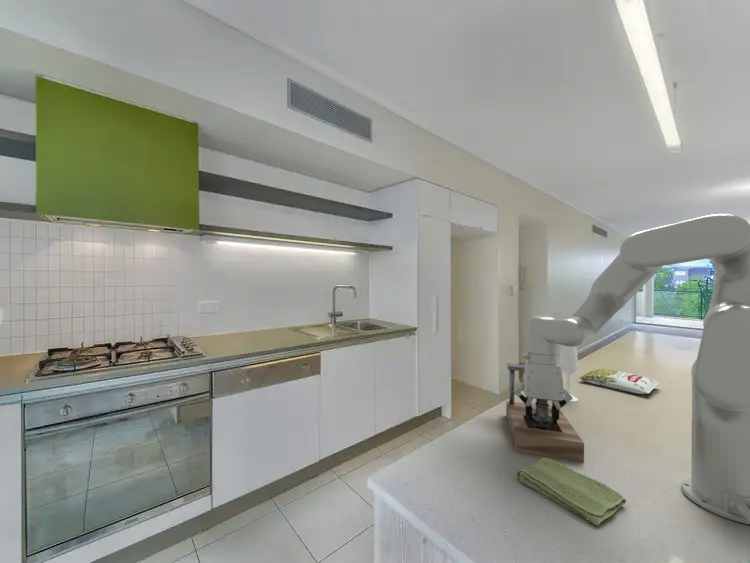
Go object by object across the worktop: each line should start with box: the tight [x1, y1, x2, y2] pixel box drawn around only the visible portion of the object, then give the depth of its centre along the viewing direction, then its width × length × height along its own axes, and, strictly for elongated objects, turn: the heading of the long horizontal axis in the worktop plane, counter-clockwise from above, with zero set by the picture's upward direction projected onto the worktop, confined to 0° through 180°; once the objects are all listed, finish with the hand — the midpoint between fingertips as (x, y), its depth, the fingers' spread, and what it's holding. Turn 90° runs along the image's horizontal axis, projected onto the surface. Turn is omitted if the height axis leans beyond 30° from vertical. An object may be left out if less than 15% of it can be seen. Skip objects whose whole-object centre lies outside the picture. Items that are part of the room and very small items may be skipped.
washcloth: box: [516, 457, 627, 527], centre depth 68 cm, size 13×18×3 cm
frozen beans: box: [579, 368, 661, 395], centre depth 139 cm, size 21×6×25 cm
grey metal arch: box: [506, 362, 554, 406], centre depth 102 cm, size 4×16×13 cm, turn 73°
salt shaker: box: [532, 399, 553, 431], centre depth 90 cm, size 6×6×12 cm
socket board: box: [505, 400, 585, 463], centre depth 93 cm, size 24×16×5 cm, turn 163°
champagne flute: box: [558, 345, 579, 402], centre depth 124 cm, size 7×7×24 cm
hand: (541, 419), depth 90 cm, fingers closed on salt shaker, 5 cm apart
